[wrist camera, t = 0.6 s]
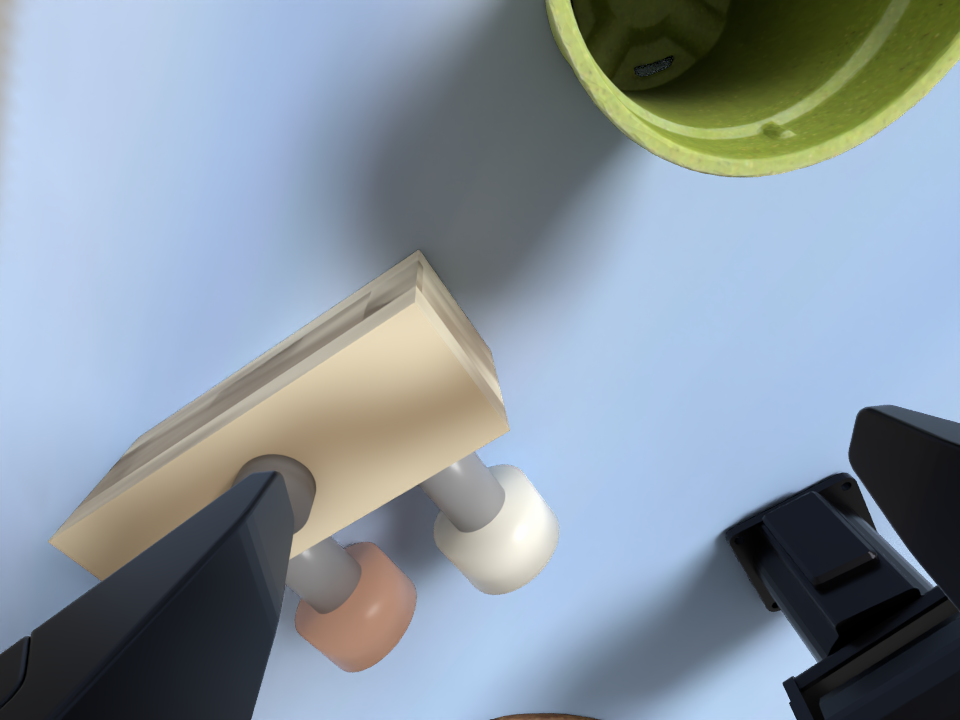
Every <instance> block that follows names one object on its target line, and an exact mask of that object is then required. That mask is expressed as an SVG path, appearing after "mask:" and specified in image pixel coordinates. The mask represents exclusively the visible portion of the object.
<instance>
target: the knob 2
mask: <svg viewBox="0 0 960 720" xmlns="http://www.w3.org/2000/svg"><path fill="white" fill-rule="evenodd" d="M418 485H419V486H420V488H421V489H422V490H423V491H424V492H425V493H426V494H427V495H428V497H429V498H430V499H431V500H432V501H433V502H434V503H435V504H436V506H437V507H438V508H439V509H440V511H439V513H438V515H437V517H436V521H435V524H434V532H433V534H434V540H435V543H436V545H437V547H438V548H439V549H440V550H441V551H442V552H443V553H444V555H445V556H446V557H447V558H448V559H449V560H450V561H451V562H452V563H453V564H454V565H455V566H456V568H457V569H458V570H459V571H460V572H461V573H462V574H463V575H464V576H465V577H466V578H467V579H468V580H469V582H470V583H471V584H472V585H473V586H474V587H475V588H476V589H477V590H479V591H481V592H483V593H486V594H490V595H500V594H505V593H509V592H512V591H514V590H517V589H519V588H521V587H522V586H524V585H526V584H527V583H528V582H530V581H531V580H532V579H534V578H535V577H536V576H537V575H538V574H539V573H540V572H541V571H542V570H543V569H544V567H545V566H546V565H547V563H548V562H549V560H550V559H551V557H552V555H553V553H554V551H555V549H556V546H557V543H558V538H559V524H558V520H557V517H556V515H555V514H554V512H553V511H552V510H551V508H550V507H549V506H548V504H547V503H546V502H545V501H544V499H543V498H542V497H541V495H540V494H539V493H538V491H537V490H536V489H535V487H534V486H533V485H532V483H531V482H530V481H529V480H528V478H527V477H526V476H525V474H524V473H523V472H522V471H521V470H520V469H519V468H517V467H515V466H512V465H496V466H491V467H488V468H487V467H486V466H485V464H484V463H483V462H482V461H481V459H480V458H479V457H478V456H477V454H476V453H475V452H472V453H471V454H469V455H467V456H466V457H464V458H462V459H461V460H459V461H457V462H455V463H454V464H452V465H450V466H449V467H447V468H445V469H443V470H442V471H440V472H438V473H437V474H435V475H433V476H432V477H430V478H428V479H426V480H425V481H423V482H421V483H420V484H418Z"/></svg>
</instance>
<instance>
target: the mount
mask: <svg viewBox="0 0 960 720" xmlns="http://www.w3.org/2000/svg"><path fill="white" fill-rule="evenodd" d="M508 431H510V428H509V424H508V420H507V416H506V411H505V407H504V403H503V399H502V395H501V391H500V387H499V383H498V378H497V374H496V370H495V366H494V362H493V358H492V354H491V351H490V349H489V348H488V346H487V345H486V344H485V342H484V341H483V339H482V338H481V337H480V335H479V334H478V332H477V331H476V329H475V328H474V327H473V325H472V324H471V322H470V321H469V319H468V318H467V317H466V315H465V314H464V312H463V311H462V310H461V308H460V307H459V305H458V304H457V302H456V301H455V300H454V298H453V297H452V295H451V294H450V293H449V291H448V290H447V288H446V287H445V285H444V284H443V283H442V281H441V280H440V278H439V277H438V275H437V274H436V273H435V271H434V270H433V268H432V267H431V266H430V264H429V263H428V261H427V260H426V258H425V257H424V256H423V254H422V253H421V251H420V250H417V251H416V252H414V253H413V254H411V255H410V256H408V257H407V258H405V259H404V260H402V261H401V262H399V263H398V264H396V265H395V266H393V267H392V268H390V269H389V270H387V271H386V272H385V273H383V274H382V275H380V276H379V277H377V278H376V279H374V280H373V281H371V282H370V283H368V284H367V285H365V286H364V287H362V288H361V289H359V290H358V291H356V292H355V293H353V294H352V295H350V296H349V297H347V298H346V299H344V300H343V301H341V302H340V303H338V304H337V305H335V306H334V307H332V308H331V309H329V310H328V311H326V312H325V313H323V314H322V315H320V316H319V317H317V318H316V319H314V320H313V321H311V322H310V323H308V324H307V325H305V326H304V327H303V328H301V329H300V330H298V331H297V332H295V333H294V334H292V335H291V336H289V337H288V338H286V339H285V340H283V341H282V342H280V343H279V344H277V345H276V346H274V347H273V348H271V349H270V350H268V351H267V352H265V353H264V354H262V355H261V356H259V357H258V358H256V359H255V360H253V361H252V362H250V363H249V364H247V365H246V366H244V367H243V368H241V369H240V370H238V371H237V372H235V373H234V374H232V375H231V376H229V377H228V378H226V379H225V380H224V381H222V382H221V383H219V384H218V385H216V386H215V387H213V388H212V389H210V390H209V391H207V392H206V393H204V394H203V395H201V396H200V397H198V398H197V399H195V400H194V401H192V402H191V403H189V404H188V405H186V406H185V407H183V408H182V409H180V410H179V411H177V412H176V413H174V414H173V415H171V416H170V417H168V418H167V419H165V420H164V421H162V422H161V423H159V424H158V425H156V426H155V427H153V428H152V429H150V430H149V431H147V432H146V433H145V434H143V435H142V436H140V437H139V438H138V439H137V440H136V441H135V442H134V443H133V445H132V446H131V447H130V448H129V449H128V450H127V451H126V453H125V454H124V455H123V456H122V457H121V458H120V460H119V461H118V462H117V463H116V464H115V465H114V466H113V468H112V469H111V470H110V471H109V472H108V473H107V474H106V476H105V477H104V478H103V479H102V480H101V481H100V482H99V484H98V485H97V486H96V487H95V488H94V489H93V490H92V492H91V493H90V494H89V495H88V496H87V497H86V498H85V500H84V501H83V502H82V503H81V504H80V505H79V506H78V508H77V509H76V510H75V511H74V512H73V513H72V515H71V516H70V517H69V518H68V519H67V520H66V521H65V523H64V524H63V525H62V526H61V527H60V528H59V529H58V531H57V532H56V533H55V534H54V535H53V536H52V537H51V539H50V540H49V541H48V542H49V543H50V544H52V545H53V546H54V547H56V548H57V549H58V550H60V551H61V552H63V553H64V554H65V555H67V556H68V557H69V558H71V559H72V560H73V561H75V562H76V563H78V564H79V565H80V566H82V567H83V568H84V569H86V570H87V571H89V572H90V573H91V574H93V575H94V576H95V577H97V578H98V579H99V580H101V581H103V580H104V579H106V578H107V577H108V576H110V575H111V574H113V573H114V572H115V571H117V570H118V569H120V568H121V567H122V566H124V565H125V564H126V563H128V562H129V561H131V560H132V559H133V558H135V557H136V556H138V555H139V554H140V553H142V552H143V551H144V550H146V549H147V548H149V547H150V546H151V545H153V544H154V543H156V542H157V541H158V540H160V539H161V538H163V537H164V536H165V535H167V534H168V533H169V532H171V531H172V530H174V529H175V528H176V527H178V526H179V525H181V524H182V523H183V522H185V521H186V520H187V519H189V518H190V517H192V516H193V515H194V514H196V513H197V512H199V511H200V510H201V509H203V508H204V507H206V506H207V505H208V504H210V503H211V502H212V501H214V500H215V499H217V498H218V497H219V496H221V495H222V494H224V493H225V492H226V491H228V490H229V489H230V488H232V487H233V486H235V485H236V484H237V483H239V482H240V481H242V480H243V479H244V478H246V477H247V476H248V475H250V474H252V473H255V472H264V471H273V470H277V471H279V472H280V473H281V474H282V475H283V477H284V480H285V483H286V487H287V490H288V494H289V498H290V501H291V505H292V508H293V512H294V518H295V527H294V534H293V540H292V546H291V552H290V558H289V560H290V559H292V558H293V557H295V556H297V555H298V554H300V553H302V552H304V551H305V550H307V549H309V548H310V547H312V546H314V545H315V544H317V543H319V542H321V541H322V540H324V539H326V538H327V537H329V536H331V535H333V534H334V533H336V532H338V531H339V530H341V529H343V528H344V527H346V526H348V525H350V524H351V523H353V522H355V521H356V520H358V519H360V518H362V517H363V516H365V515H367V514H368V513H370V512H372V511H374V510H375V509H377V508H379V507H380V506H382V505H384V504H385V503H387V502H389V501H391V500H392V499H394V498H396V497H397V496H399V495H401V494H403V493H404V492H406V491H408V490H409V489H411V488H413V487H414V486H416V485H418V484H420V483H421V482H423V481H425V480H426V479H428V478H430V477H432V476H433V475H435V474H437V473H438V472H440V471H442V470H443V469H445V468H447V467H449V466H450V465H452V464H454V463H455V462H457V461H459V460H461V459H462V458H464V457H466V456H467V455H469V454H471V453H472V452H474V451H476V450H478V449H479V448H481V447H483V446H484V445H486V444H488V443H490V442H491V441H493V440H495V439H496V438H498V437H500V436H502V435H503V434H505V433H507V432H508Z"/></svg>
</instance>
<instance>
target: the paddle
mask: <svg viewBox="0 0 960 720" xmlns="http://www.w3.org/2000/svg"><path fill="white" fill-rule="evenodd" d="M491 720H599V719H594V718H588V717H582V716H576V715H568V714H554V713H538V714H535V713H534V714H516V715H509V716H503V717H499V718H495V719H491Z"/></svg>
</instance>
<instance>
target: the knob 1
mask: <svg viewBox="0 0 960 720" xmlns="http://www.w3.org/2000/svg"><path fill="white" fill-rule="evenodd" d="M285 584H286V585H287V586H288V587H289V588H290V589H291V590H293V591H294V592H295V593H296V594H297V595H298V596H299V597H301V600H300V602H299V605H298V608H297V611H296V616H295V626H296V630H297V632H298V633H299V634H300V635H301V636H302V637H303V638H304V639H306V640H307V641H308V642H309V643H310V644H312V645H313V646H314V647H315V648H316V649H318V650H319V651H320V652H321V653H322V654H324V655H325V656H326V657H327V658H328V659H330V660H331V661H332V662H333V663H334V664H336V665H337V666H338V667H339V668H340V669H342V670H344V671H346V672H359V671H362V670H365V669H367V668H369V667H371V666H373V665H375V664H376V663H378V662H379V661H380V660H382V659H383V658H384V657H385V656H386V655H387V654H388V653H389V652H390V651H391V650H392V649H393V648H394V647H395V646H396V644H397V643H398V642H399V640H400V639H401V638H402V636H403V635H404V633H405V631H406V630H407V628H408V626H409V624H410V622H411V619H412V617H413V614H414V611H415V606H416V599H417V596H416V588H415V586H414V584H413V582H412V581H411V580H410V579H409V578H408V577H407V576H406V575H405V574H404V573H403V572H402V571H401V570H400V569H399V568H398V567H397V566H396V565H395V564H394V563H393V562H392V561H391V560H390V559H389V558H388V557H387V556H386V555H385V554H384V553H383V552H382V551H381V550H380V549H379V548H378V547H377V546H376V545H375V544H373V543H371V542H360V543H357V544H354V545H351V546H349V547H347V548H346V549H343V548H342V547H341V546H340V545H339V544H338V543H337V542H336V541H335V540H334V539H333V538H332V537H331V536H329V537H327V538H326V539H324V540H322V541H321V542H319V543H317V544H315V545H314V546H312V547H310V548H309V549H307V550H305V551H304V552H302V553H300V554H298V555H297V556H295V557H293V558H292V559H290V560H289V564H288V571H287V577H286V583H285Z"/></svg>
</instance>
